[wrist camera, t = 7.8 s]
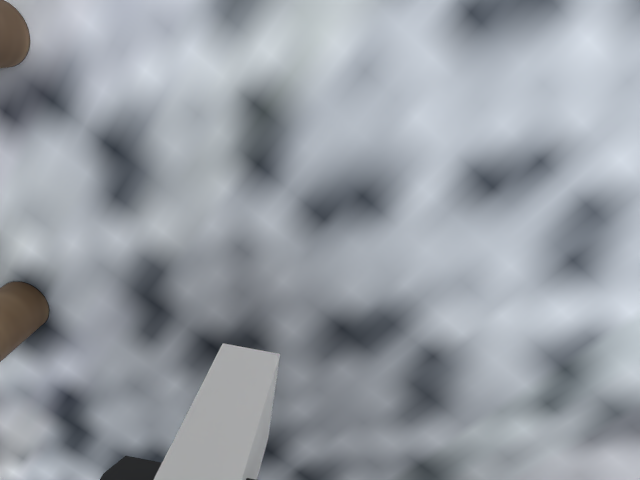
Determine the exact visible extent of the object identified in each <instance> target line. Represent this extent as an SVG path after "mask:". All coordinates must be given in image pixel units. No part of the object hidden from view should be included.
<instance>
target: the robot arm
mask: <svg viewBox="0 0 640 480" xmlns="http://www.w3.org/2000/svg"><path fill="white" fill-rule="evenodd" d="M279 358H280V354H278V353H272V352H267V351H261V350H256V349H251V348H245V347H240V346H234V345H229V344H222V346H221V348H220V350H219V352H218V354H217V356H216V357H215V359H214V361H213V363H212V365H211V367H210V369H209V371H208V373H207V375H206V377H205V379H204V381H203V383H202V385H201V387H200V389H199V391H198V393H197V395H196V397H195V399H194V401H193V403H192V405H191V407H190V409H189V411H188V413H187V415H186V417H185V419H184V421H183V423H182V424H181V426H180V428H179V430H178V432H177V434H176V436H175V438H174V440H173V442H172V444H171V446H170V448H169V450H168V452H167V454H166V456H165V458H164V460H163V462H162V463H160V462H155V461H150V460H145V459H140V458H134V457H129V456H125V457H124V458H123V459H121V460H120V461H119V462H118V463H116V464H115V465H114V466H113V467H111V468H110V469H109V470H107V471H106V472H105V473H104V474H103V475H102V477H101V479H100V480H257V478H258V474H259V470H260V467H261V463H262V459H263V456H264V452H265V448H266V444H267V441H268V437H269V430H270V423H271V416H272V408H273V401H274V394H275V387H276V380H277V373H278V366H279Z"/></svg>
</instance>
